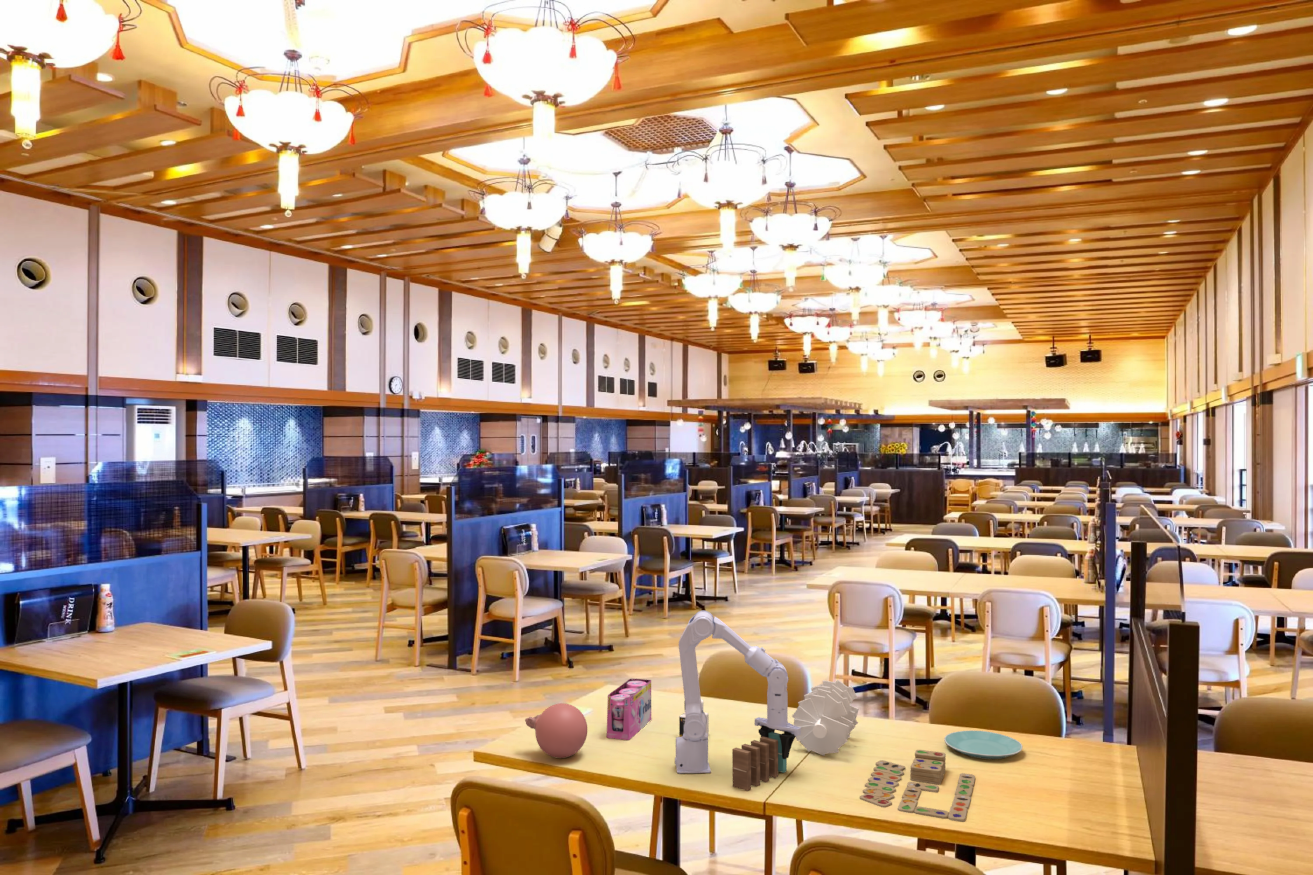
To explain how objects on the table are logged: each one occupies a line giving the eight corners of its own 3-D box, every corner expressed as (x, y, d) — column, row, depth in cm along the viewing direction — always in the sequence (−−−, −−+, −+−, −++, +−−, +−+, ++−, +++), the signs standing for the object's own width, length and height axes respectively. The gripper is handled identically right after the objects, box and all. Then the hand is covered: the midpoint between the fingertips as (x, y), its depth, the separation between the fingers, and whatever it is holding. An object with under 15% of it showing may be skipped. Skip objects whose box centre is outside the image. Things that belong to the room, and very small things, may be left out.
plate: (998, 769, 244) (998, 759, 244) (929, 749, 261) (929, 740, 261) (1036, 752, 258) (1036, 743, 258) (969, 734, 275) (969, 725, 275)
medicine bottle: (678, 738, 272) (678, 699, 272) (688, 731, 278) (688, 694, 278) (699, 741, 268) (699, 702, 268) (708, 735, 274) (708, 697, 275)
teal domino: (783, 772, 241) (783, 736, 241) (768, 768, 244) (768, 732, 244) (786, 771, 242) (786, 735, 242) (772, 766, 245) (771, 731, 246)
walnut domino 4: (774, 778, 238) (774, 741, 238) (759, 773, 241) (759, 737, 241) (778, 776, 239) (778, 740, 239) (763, 771, 242) (763, 736, 242)
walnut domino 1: (747, 791, 228) (747, 753, 228) (732, 786, 232) (732, 748, 232) (751, 789, 229) (751, 751, 230) (736, 784, 233) (736, 747, 233)
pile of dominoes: (877, 762, 251) (877, 743, 251) (976, 776, 240) (976, 756, 240) (853, 806, 219) (853, 784, 220) (966, 824, 208) (965, 801, 208)
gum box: (628, 742, 268) (628, 698, 268) (604, 739, 271) (604, 696, 271) (652, 719, 291) (652, 679, 291) (630, 717, 293) (629, 677, 294)
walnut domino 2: (756, 786, 231) (756, 749, 232) (741, 781, 235) (741, 745, 235) (760, 784, 233) (760, 747, 233) (745, 780, 236) (745, 743, 236)
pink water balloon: (540, 742, 267) (540, 693, 268) (596, 751, 259) (596, 700, 259) (511, 758, 253) (512, 706, 254) (570, 768, 245) (570, 714, 245)
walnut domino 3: (765, 782, 234) (765, 745, 235) (750, 777, 238) (750, 741, 238) (769, 780, 236) (769, 743, 236) (754, 776, 239) (754, 739, 239)
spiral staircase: (805, 769, 255) (820, 739, 278) (859, 750, 249) (870, 721, 272) (778, 711, 258) (795, 686, 281) (831, 691, 252) (844, 667, 275)
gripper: (807, 709, 241) (807, 758, 241) (764, 699, 251) (764, 746, 251) (792, 714, 236) (793, 764, 236) (750, 704, 246) (750, 752, 246)
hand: (777, 755), depth 243 cm, fingers closed on teal domino, 5 cm apart
